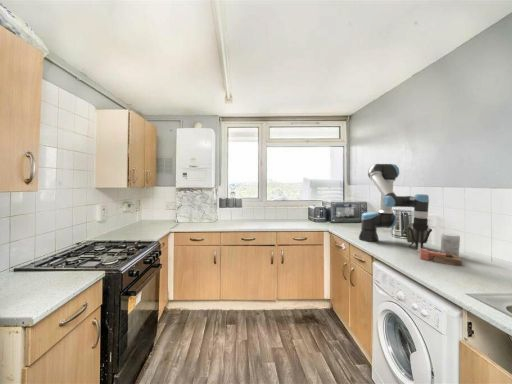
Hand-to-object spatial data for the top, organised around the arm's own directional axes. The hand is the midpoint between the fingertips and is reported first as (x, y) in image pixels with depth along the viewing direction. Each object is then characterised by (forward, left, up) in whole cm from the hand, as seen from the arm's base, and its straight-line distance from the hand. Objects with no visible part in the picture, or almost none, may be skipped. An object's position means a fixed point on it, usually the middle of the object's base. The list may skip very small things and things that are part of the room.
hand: (419, 252), depth 152 cm
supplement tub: (-14, +17, -3) cm, 22 cm away
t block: (0, +7, -3) cm, 8 cm away
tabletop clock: (-25, 0, -3) cm, 25 cm away
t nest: (0, +14, -3) cm, 14 cm away
